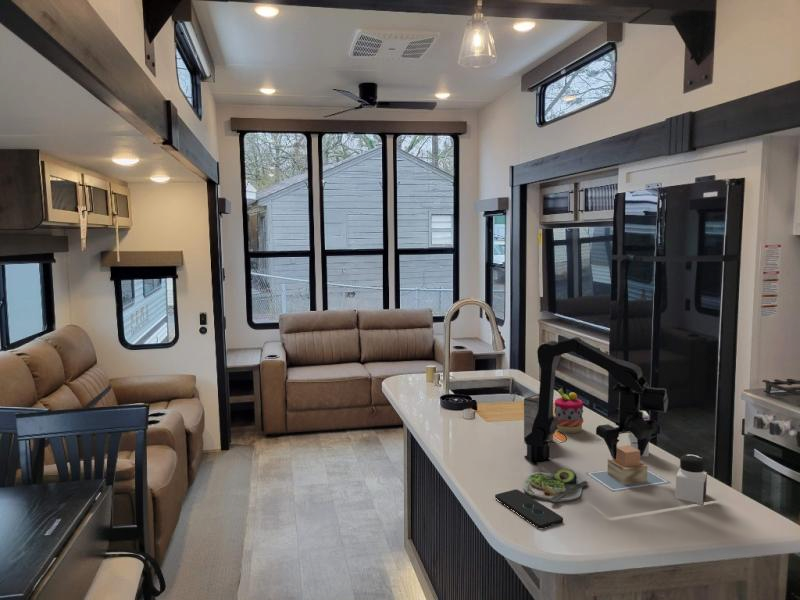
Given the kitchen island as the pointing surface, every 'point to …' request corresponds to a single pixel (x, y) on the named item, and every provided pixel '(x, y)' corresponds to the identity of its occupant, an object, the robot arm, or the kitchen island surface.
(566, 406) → the cake
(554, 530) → the kitchen island surface
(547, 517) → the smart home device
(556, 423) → the robot arm
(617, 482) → the board
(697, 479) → the medicine bottle
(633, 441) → the syrup box
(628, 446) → the terracotta block
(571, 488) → the salad plate
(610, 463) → the oak foundation
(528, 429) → the coffee box
